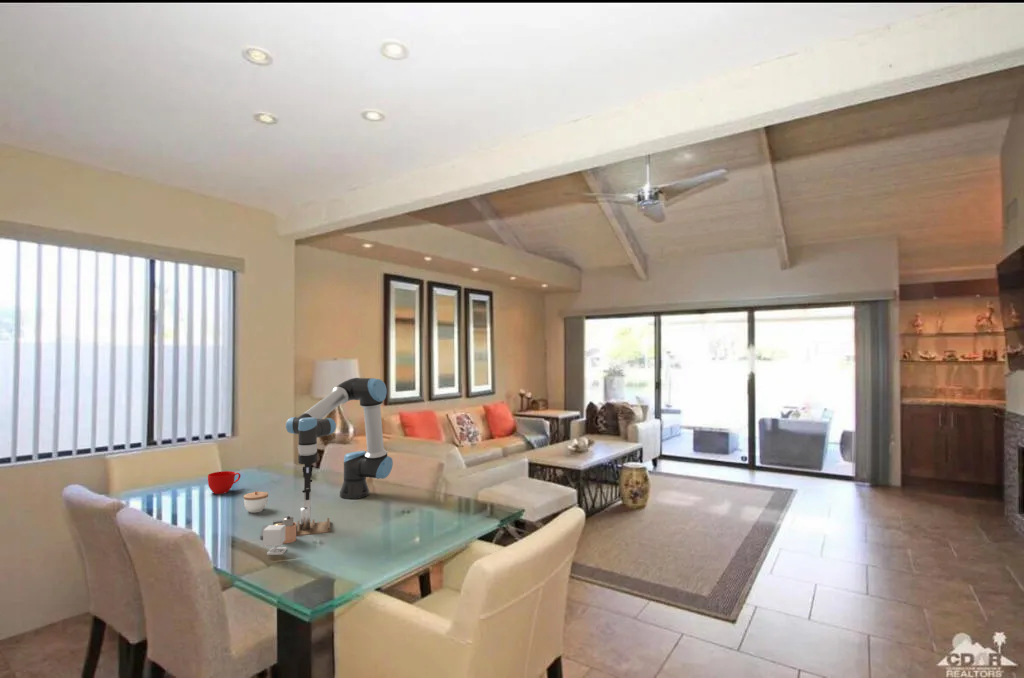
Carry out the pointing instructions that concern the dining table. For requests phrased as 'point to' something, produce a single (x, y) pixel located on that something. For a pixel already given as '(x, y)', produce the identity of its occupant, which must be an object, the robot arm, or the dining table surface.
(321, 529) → the trough board
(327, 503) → the dining table surface
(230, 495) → the dining table surface
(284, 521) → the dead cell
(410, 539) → the dining table surface
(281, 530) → the security camera
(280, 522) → the cradle
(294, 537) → the octagonal tan cylinder
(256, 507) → the lidded jar
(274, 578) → the dining table surface
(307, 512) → the cell
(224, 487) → the ceramic cup
